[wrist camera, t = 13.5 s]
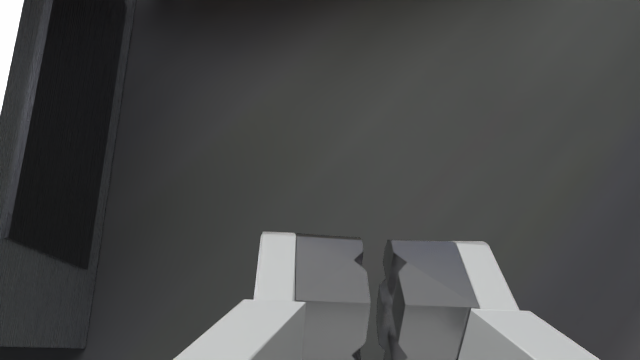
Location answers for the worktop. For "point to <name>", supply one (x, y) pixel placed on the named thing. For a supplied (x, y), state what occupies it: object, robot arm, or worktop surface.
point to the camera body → (56, 160)
